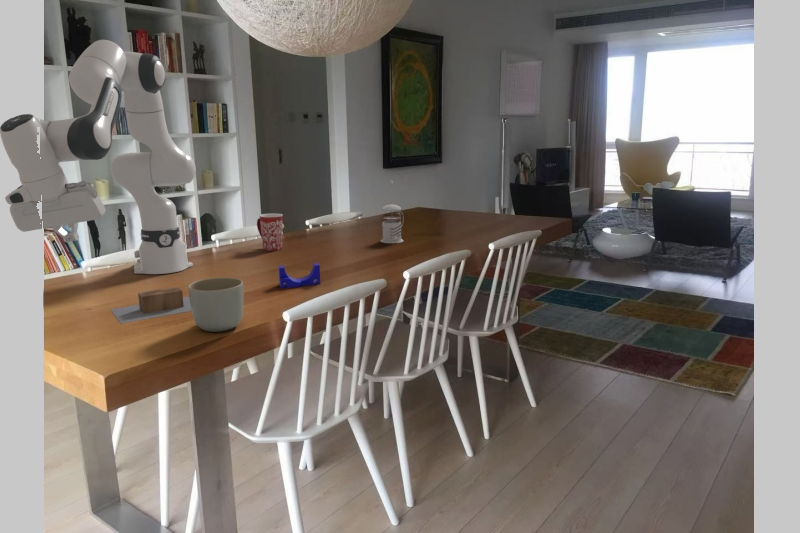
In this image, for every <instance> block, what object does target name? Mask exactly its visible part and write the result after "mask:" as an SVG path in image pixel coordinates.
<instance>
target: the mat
mask: <svg viewBox="0 0 800 533" xmlns="http://www.w3.org/2000/svg"><path fill="white" fill-rule="evenodd" d="M183 305H184V307H180V308H174V309H168V310H162V311H157V312H151V313H145V314H143V312H142V311H141V310H140V306H139V304H134V305H129V306H123V307H115V308H111V309H110V311H111V312H112V313H113V315H114V316H115V318H116V319H117V320H118V322H119V323H120V324H126V323H131V322H137V321H141V320H142V321H144V320H147V319H154V318H155V319H156V318H159V317H165V316H170V315H175V314H181V313H189V312H192V309H191V304H190V298H189V295H188V296H183Z"/></svg>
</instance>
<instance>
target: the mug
mask: <svg viewBox="0 0 800 533" xmlns="http://www.w3.org/2000/svg"><path fill="white" fill-rule="evenodd" d="M283 217H284V215H283V214H282V213H276V212H275V213H274V212H273V213H262V214H259V216H258V218H257V219H256V227H257V231H258V233H259V236H260V238H261V240H262V249H263V250H264V251H266V252H267V251H269V252H274V251H276V252H277V251H280V250H282V249H283Z"/></svg>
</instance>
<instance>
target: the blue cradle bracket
mask: <svg viewBox="0 0 800 533" xmlns="http://www.w3.org/2000/svg"><path fill="white" fill-rule="evenodd" d="M312 264H313V266H312V269H311V271H310V273H308V275H307V276H305V277H302V278H294V277H292V276H290V275H288V273H287V272H286V270H285V266H284V265H279V266H278V279H279V281H278V282H279V287H280V289H290V288H291V287H294V288H301V287H302V286H311V285H313V286H314V285H321V266H320V265H321V264H320V263H318V262H317V263H316V262H315V263H312ZM301 285H302V286H301ZM291 289H292V288H291Z"/></svg>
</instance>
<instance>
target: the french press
mask: <svg viewBox="0 0 800 533" xmlns="http://www.w3.org/2000/svg"><path fill="white" fill-rule="evenodd" d="M388 184H389V185H390V198H391V199H390V200H391V203H390V204H386V205H384V206H383V207H381V210H382V211H387V212H388V211H389V212H391V216H390V215H389V216H384V217H383V218H382V219H383V221H382V222H381V223H382V226H381V227H382V229H381V230H382V238H381V240H380V242H381V243H383V244H399V243H403V242H404V240H403V239H402V227H403V225H404V221H405V220H404V218H405V217H404V213H403V212H402V211H401V210H402V207H400V206H399V205H397V204H393V203H392V202H393V199H392V196H393V193H392V190H393V187H392V186H393V184H394V181H393V180H390V181H389V182H388ZM393 212H395V214H397V215H399V216H394V215H393ZM401 215H402V216H401ZM401 218H402V221H401Z"/></svg>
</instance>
